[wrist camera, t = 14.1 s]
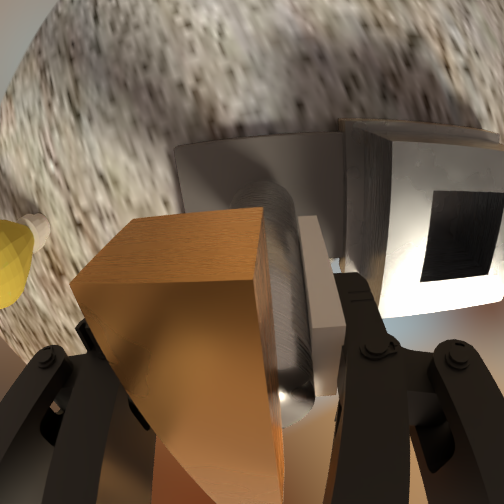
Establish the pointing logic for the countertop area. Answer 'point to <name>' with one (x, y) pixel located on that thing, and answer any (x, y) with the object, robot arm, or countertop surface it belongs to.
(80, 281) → the key
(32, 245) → the light bulb
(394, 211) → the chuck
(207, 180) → the mat
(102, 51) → the countertop surface
